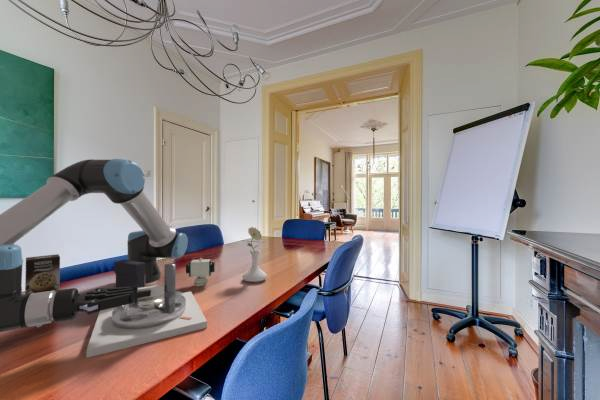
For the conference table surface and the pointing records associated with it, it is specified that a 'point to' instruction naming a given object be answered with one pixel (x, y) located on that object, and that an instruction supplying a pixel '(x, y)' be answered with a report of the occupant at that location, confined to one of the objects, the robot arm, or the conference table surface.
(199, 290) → the conference table surface
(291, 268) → the conference table surface
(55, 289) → the brown food box
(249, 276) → the flower in vase
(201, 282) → the pneumatic valve
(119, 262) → the black upright block
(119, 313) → the round disc with peg
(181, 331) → the base plate
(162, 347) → the conference table surface
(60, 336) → the conference table surface
